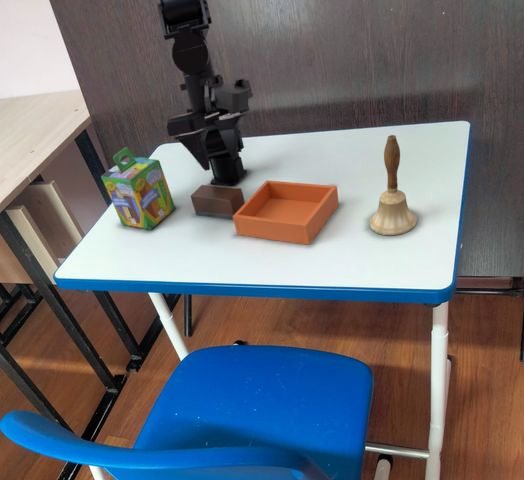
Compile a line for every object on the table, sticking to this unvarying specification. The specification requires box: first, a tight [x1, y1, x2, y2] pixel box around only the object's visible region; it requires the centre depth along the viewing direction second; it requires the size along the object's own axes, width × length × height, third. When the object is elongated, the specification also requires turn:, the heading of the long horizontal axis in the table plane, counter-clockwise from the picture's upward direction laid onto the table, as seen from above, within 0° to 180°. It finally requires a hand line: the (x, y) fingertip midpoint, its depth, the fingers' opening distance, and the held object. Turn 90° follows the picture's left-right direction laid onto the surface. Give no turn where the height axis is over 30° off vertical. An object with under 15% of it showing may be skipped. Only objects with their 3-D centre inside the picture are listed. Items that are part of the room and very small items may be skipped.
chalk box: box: [100, 146, 177, 231], centre depth 110 cm, size 9×9×15 cm
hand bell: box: [369, 134, 418, 236], centre depth 90 cm, size 8×8×16 cm
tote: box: [232, 180, 340, 246], centre depth 101 cm, size 16×14×4 cm
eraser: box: [189, 184, 246, 221], centre depth 109 cm, size 10×4×4 cm, turn 61°
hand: (221, 163), depth 100 cm, fingers open, 9 cm apart
